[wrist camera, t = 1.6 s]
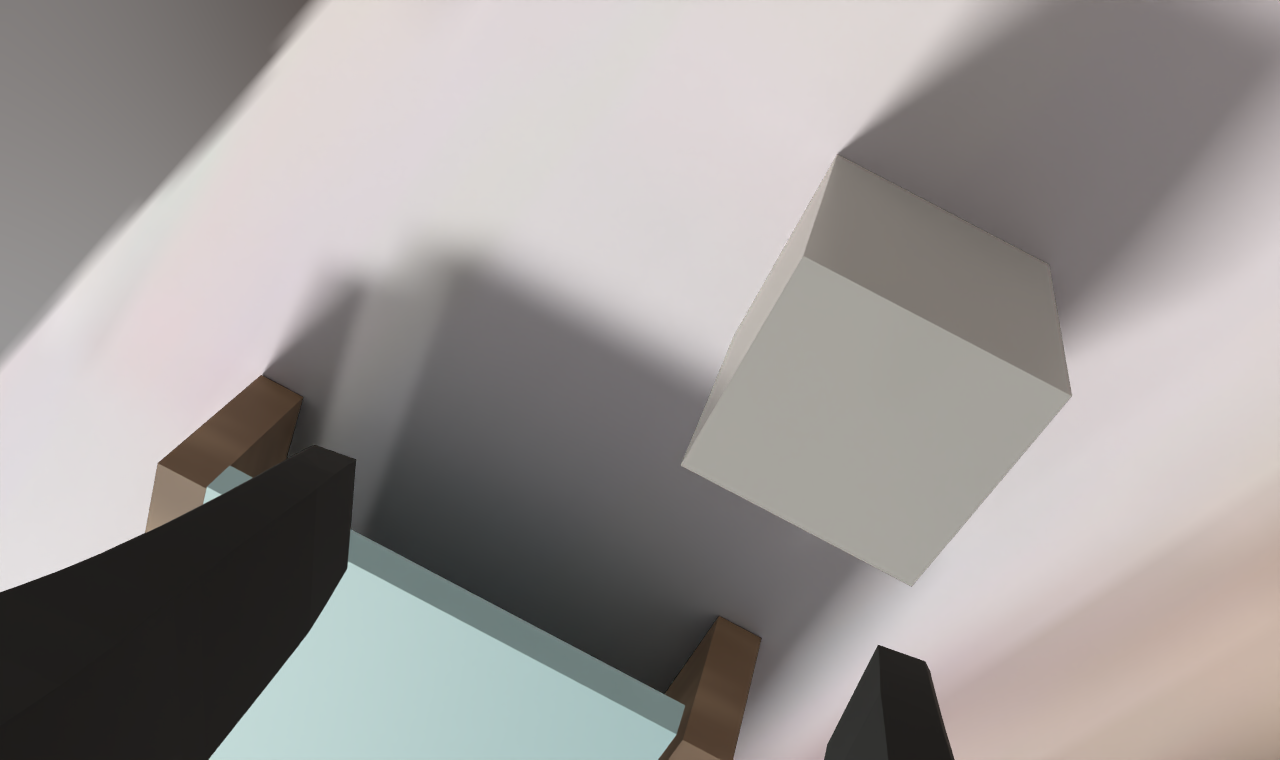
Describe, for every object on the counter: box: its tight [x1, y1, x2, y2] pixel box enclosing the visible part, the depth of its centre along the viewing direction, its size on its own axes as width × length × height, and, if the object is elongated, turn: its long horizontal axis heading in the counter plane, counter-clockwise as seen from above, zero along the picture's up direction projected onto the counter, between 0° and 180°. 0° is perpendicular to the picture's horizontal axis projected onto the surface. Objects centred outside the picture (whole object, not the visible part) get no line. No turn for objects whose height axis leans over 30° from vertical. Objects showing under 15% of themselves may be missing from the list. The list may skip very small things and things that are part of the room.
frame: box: [145, 375, 761, 760], centre depth 28 cm, size 14×14×5 cm
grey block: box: [681, 154, 1072, 587], centre depth 19 cm, size 4×4×5 cm
